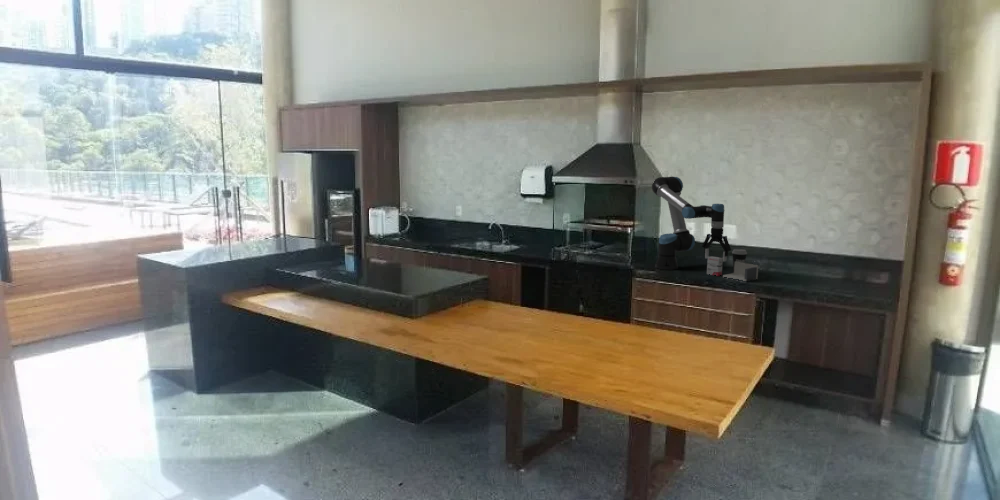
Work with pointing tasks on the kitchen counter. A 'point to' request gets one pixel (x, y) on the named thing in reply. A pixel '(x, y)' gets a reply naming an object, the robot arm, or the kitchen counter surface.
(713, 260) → the ink box
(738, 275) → the shelf
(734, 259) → the coffee cup
